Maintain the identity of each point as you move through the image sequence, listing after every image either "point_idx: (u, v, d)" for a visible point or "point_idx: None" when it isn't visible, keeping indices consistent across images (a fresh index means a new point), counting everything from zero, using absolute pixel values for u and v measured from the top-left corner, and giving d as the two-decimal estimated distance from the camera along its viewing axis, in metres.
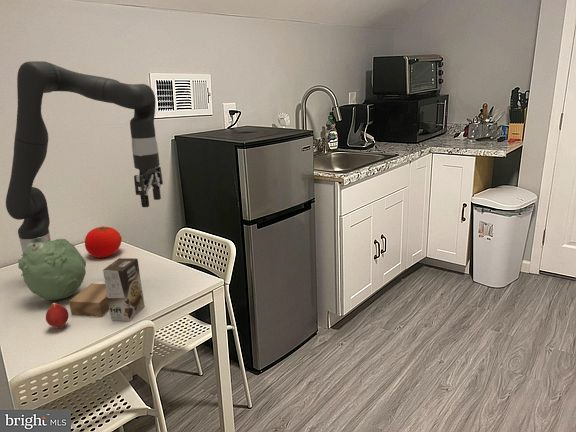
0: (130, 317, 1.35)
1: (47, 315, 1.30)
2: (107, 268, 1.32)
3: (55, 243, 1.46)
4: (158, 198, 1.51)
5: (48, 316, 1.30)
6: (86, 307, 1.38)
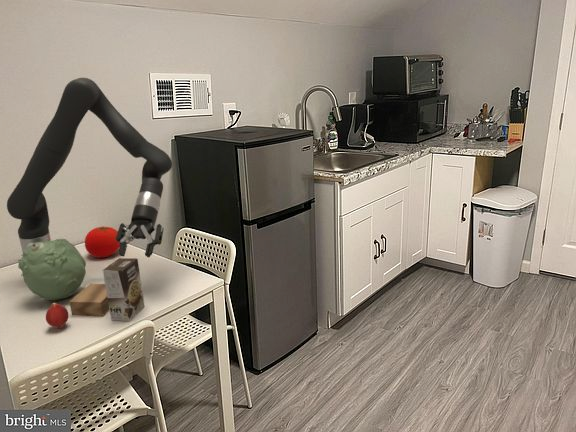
0: (130, 317, 1.35)
1: (47, 315, 1.30)
2: (107, 268, 1.32)
3: (55, 243, 1.46)
4: (123, 254, 1.44)
5: (48, 316, 1.30)
6: (87, 307, 1.38)
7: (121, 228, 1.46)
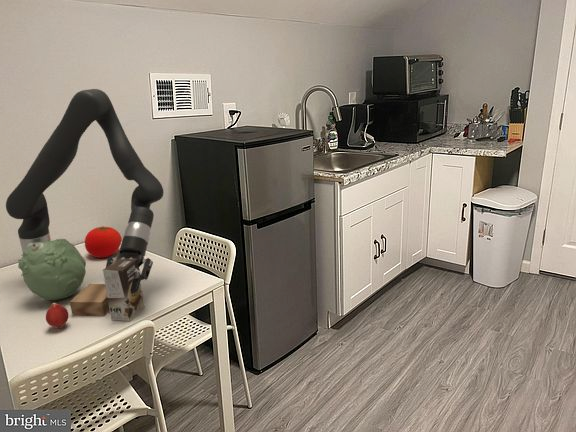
0: (130, 317, 1.35)
1: (47, 315, 1.30)
2: (107, 268, 1.32)
3: (55, 243, 1.46)
4: None
5: (48, 316, 1.30)
6: (88, 307, 1.38)
7: (109, 262, 1.40)
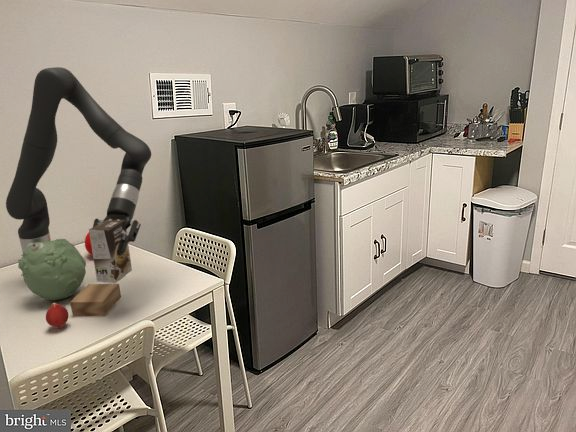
0: (116, 279, 1.33)
1: (47, 315, 1.30)
2: (93, 228, 1.30)
3: (55, 243, 1.46)
4: None
5: (48, 316, 1.30)
6: (89, 307, 1.38)
7: (96, 223, 1.37)
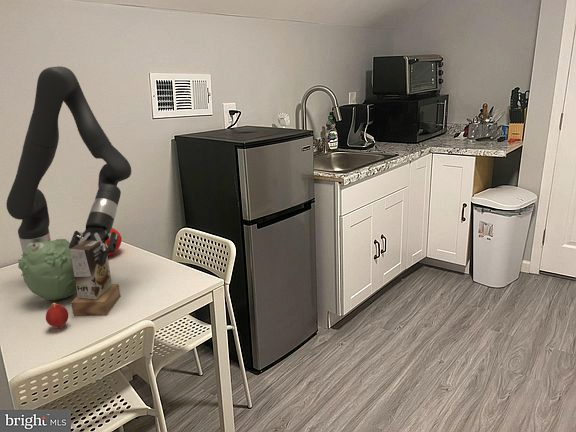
0: (97, 295, 1.39)
1: (47, 315, 1.30)
2: (74, 247, 1.36)
3: (55, 243, 1.46)
4: None
5: (48, 316, 1.30)
6: (90, 307, 1.38)
7: (75, 236, 1.43)
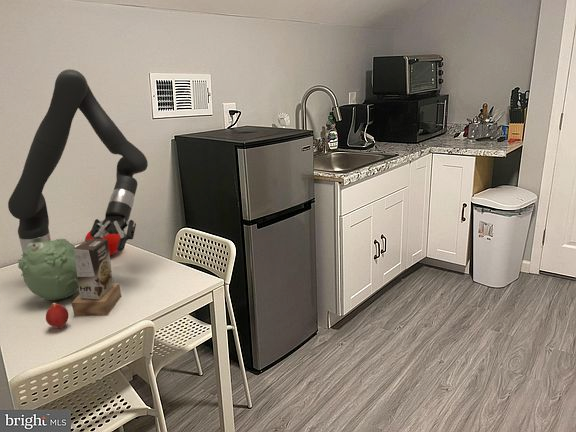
0: (100, 295, 1.39)
1: (47, 315, 1.30)
2: (78, 247, 1.36)
3: (55, 243, 1.46)
4: None
5: (48, 316, 1.30)
6: (91, 307, 1.38)
7: (95, 224, 1.53)
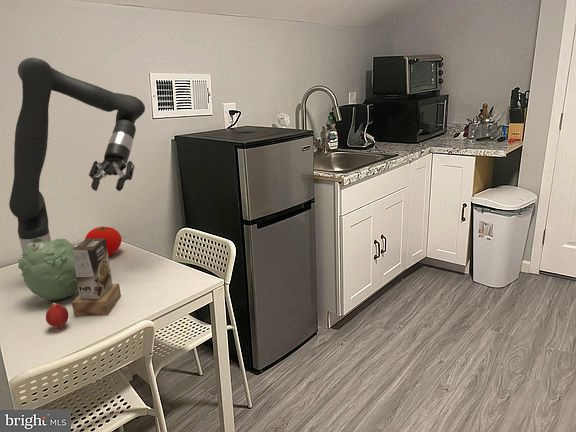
0: (100, 295, 1.39)
1: (47, 315, 1.30)
2: (76, 248, 1.35)
3: (55, 243, 1.46)
4: (96, 189, 1.53)
5: (48, 316, 1.30)
6: (91, 307, 1.38)
7: (94, 165, 1.56)
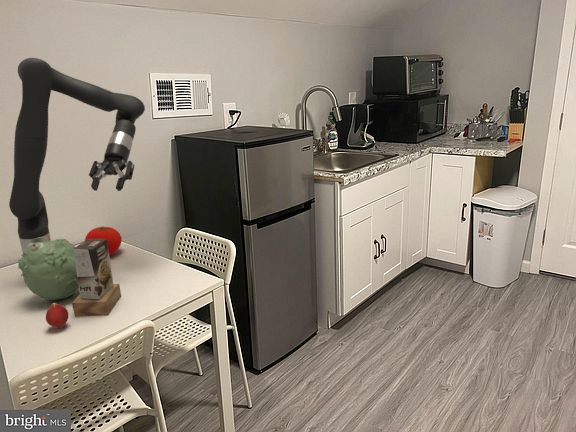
0: (100, 295, 1.39)
1: (47, 315, 1.30)
2: (77, 247, 1.36)
3: (55, 243, 1.46)
4: (96, 189, 1.53)
5: (48, 316, 1.30)
6: (91, 307, 1.38)
7: (94, 165, 1.56)
